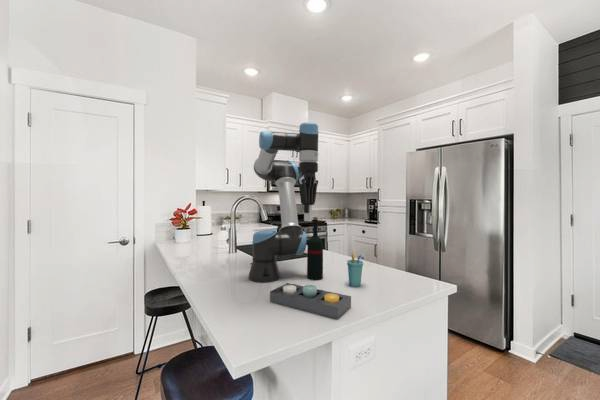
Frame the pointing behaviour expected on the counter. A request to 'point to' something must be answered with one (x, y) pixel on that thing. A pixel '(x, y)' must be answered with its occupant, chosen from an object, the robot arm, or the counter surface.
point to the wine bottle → (315, 254)
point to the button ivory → (289, 288)
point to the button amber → (331, 298)
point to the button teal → (310, 291)
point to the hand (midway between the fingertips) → (308, 221)
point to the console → (311, 302)
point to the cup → (355, 271)
